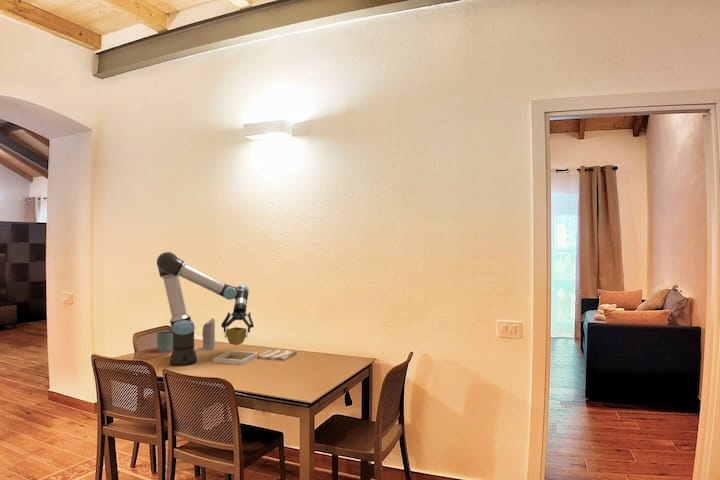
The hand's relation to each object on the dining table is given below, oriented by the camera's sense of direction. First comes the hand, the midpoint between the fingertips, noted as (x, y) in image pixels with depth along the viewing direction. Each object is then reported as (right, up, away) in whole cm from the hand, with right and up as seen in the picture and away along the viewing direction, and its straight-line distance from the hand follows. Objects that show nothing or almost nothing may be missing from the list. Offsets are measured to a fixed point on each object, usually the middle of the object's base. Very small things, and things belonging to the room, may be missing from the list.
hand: (235, 336), depth 261 cm
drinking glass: (-52, -15, +25) cm, 60 cm away
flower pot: (0, -5, +2) cm, 6 cm away
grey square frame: (0, -14, +2) cm, 14 cm away
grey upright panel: (-29, -15, +28) cm, 43 cm away
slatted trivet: (+22, -14, +11) cm, 29 cm away
